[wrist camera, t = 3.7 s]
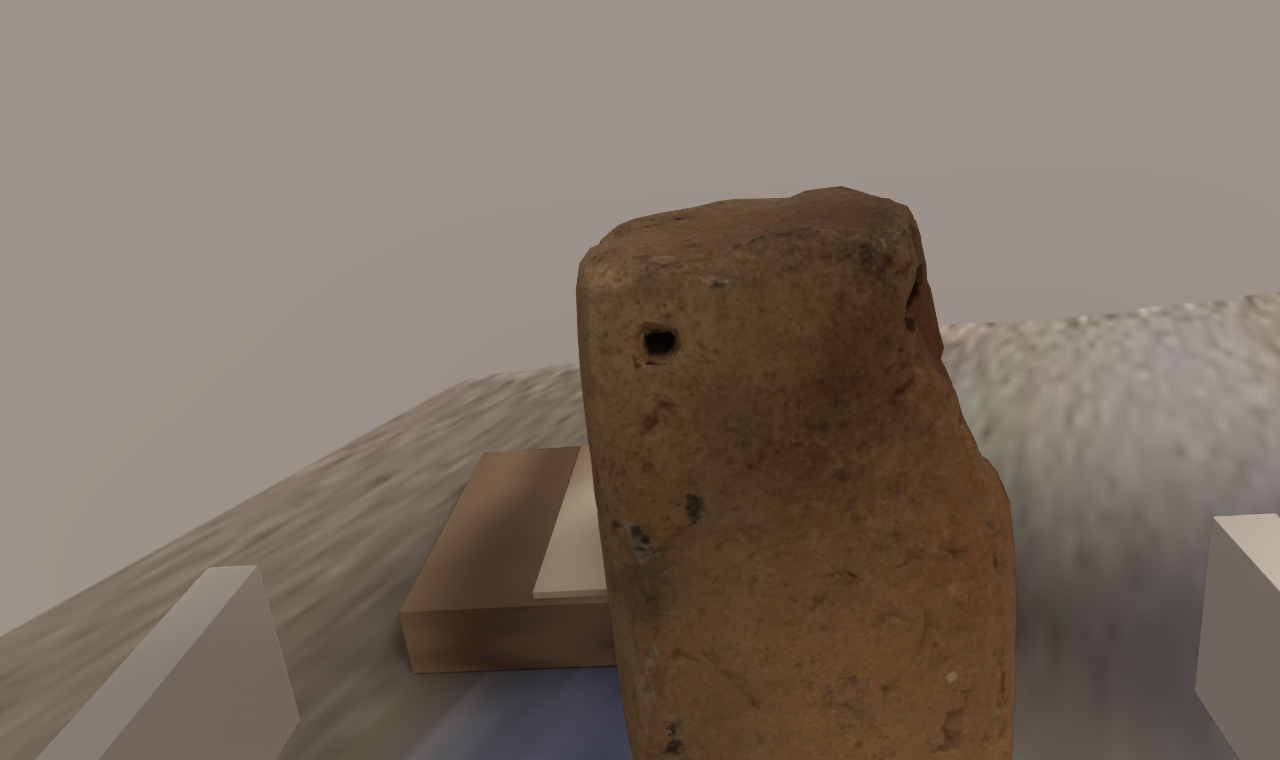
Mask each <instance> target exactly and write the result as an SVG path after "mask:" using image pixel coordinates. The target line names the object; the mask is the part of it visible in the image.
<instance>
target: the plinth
mask: <svg viewBox="0 0 1280 760" xmlns="http://www.w3.org/2000/svg"><path fill="white" fill-rule="evenodd" d="M399 615H400V620H401V624H402V628H403V633H404V637H405V641H406V645H407V650H408V654H409V658H410V663H411V667H412V671H413V674H414V673H439V672H464V671H489V670H514V669H539V668H565V667H590V666H615V665H617V660H616V653H615V646H614V639H613V624H612V617H611V613H610V609H609V603H608V595H607V587H606V579H605V571H604V563H603V555H602V547H601V540H600V533H599V526H598V514H597V507H596V501H595V495H594V487H593V476H592V465H591V457H590V450H589V445H582V446H578V447H563V448H548V449H533V450H518V451H503V452H488V453H484V454H483V455H482V457H481V459H480V461H479V463H478V465H477V467H476V469H475V470H474V472H473V474H472V476H471V478H470V480H469V482H468V484H467V485H466V487H465V489H464V491H463V493H462V495H461V497H460V499H459V500H458V502H457V504H456V506H455V508H454V510H453V512H452V514H451V515H450V517H449V519H448V521H447V523H446V525H445V527H444V529H443V530H442V532H441V534H440V536H439V538H438V540H437V542H436V543H435V545H434V547H433V549H432V551H431V553H430V555H429V557H428V558H427V560H426V562H425V564H424V566H423V568H422V570H421V572H420V573H419V575H418V577H417V579H416V581H415V583H414V585H413V587H412V588H411V590H410V592H409V594H408V596H407V598H406V600H405V602H404V603H403V605H402V607H401V609H400V611H399Z"/></svg>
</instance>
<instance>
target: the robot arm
mask: <svg viewBox="0 0 1280 760" xmlns="http://www.w3.org/2000/svg"><path fill="white" fill-rule="evenodd" d="M1195 692H1196V694H1197V695H1198V697H1199V698H1200V700H1201V701H1202V703H1203V704H1204V706H1205V707H1206V709H1207V711H1208V712H1209V714H1210V715H1211V717H1212V718H1213V720H1214V721H1215V723H1216V724H1217V726H1218V727H1219V729H1220V730H1221V732H1222V733H1223V735H1224V737H1225V738H1226V740H1227V741H1228V743H1229V744H1230V746H1231V747H1232V749H1233V750H1234V752H1235V753H1236V755H1237V756H1238V758H1239V760H1280V518H1279V517H1278V516H1277V515H1276V514H1275V513H1273V514H1253V515H1233V516H1214V517H1212V527H1211V536H1210V546H1209V556H1208V566H1207V576H1206V586H1205V595H1204V605H1203V615H1202V625H1201V635H1200V644H1199V654H1198V664H1197V674H1196V684H1195ZM299 721H300V716H299V712H298V709H297V705H296V701H295V698H294V694H293V691H292V687H291V683H290V680H289V676H288V672H287V669H286V665H285V661H284V658H283V654H282V650H281V647H280V643H279V640H278V636H277V632H276V629H275V625H274V621H273V618H272V614H271V610H270V607H269V603H268V600H267V596H266V592H265V589H264V585H263V581H262V578H261V574H260V570H259V567H258V565H247V566H228V567H208V568H207V570H206V571H205V572H204V573H203V574H202V575H201V576H200V577H199V578H198V580H197V581H196V582H195V583H194V584H193V585H192V586H191V587H190V588H189V590H188V591H187V592H186V593H185V594H184V595H183V596H182V597H181V598H180V600H179V601H178V602H177V603H176V604H175V605H174V606H173V607H172V608H171V610H170V611H169V612H168V613H167V614H166V615H165V616H164V617H163V618H162V620H161V621H160V622H159V623H158V624H157V625H156V626H155V627H154V628H153V630H152V631H151V632H150V633H149V634H148V635H147V636H146V637H145V638H144V640H143V641H142V642H141V643H140V644H139V645H138V646H137V647H136V648H135V649H134V651H133V652H132V653H131V654H130V655H129V656H128V657H127V658H126V659H125V661H124V662H123V663H122V664H121V665H120V666H119V667H118V668H117V669H116V671H115V672H114V673H113V674H112V675H111V676H110V677H109V678H108V679H107V681H106V682H105V683H104V684H103V685H102V686H101V687H100V688H99V689H98V691H97V692H96V693H95V694H94V695H93V696H92V697H91V698H90V699H89V701H88V702H87V703H86V704H85V705H84V706H83V707H82V708H81V709H80V711H79V712H78V713H77V714H76V715H75V716H74V717H73V718H72V719H71V721H70V722H69V723H68V724H67V725H66V726H65V727H64V728H63V729H62V731H61V732H60V733H59V734H58V735H57V736H56V737H55V738H54V739H53V741H52V742H51V743H50V744H49V745H48V746H47V747H46V748H45V749H44V750H43V752H42V753H41V754H40V755H39V756H38V757H37V758H36V759H35V760H277V758H278V757H279V755H280V753H281V751H282V750H283V748H284V746H285V745H286V743H287V741H288V740H289V738H290V736H291V734H292V733H293V731H294V729H295V728H296V726H297V724H298V723H299Z"/></svg>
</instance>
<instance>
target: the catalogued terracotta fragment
mask: <svg viewBox="0 0 1280 760" xmlns="http://www.w3.org/2000/svg"><path fill="white" fill-rule="evenodd" d="M576 302H577V329H578V346H579V359H580V373H581V383H582V392H583V402H584V410H585V418H586V427H587V435H588V442H589V450H590V457H591V465H592V476H593V487H594V495H595V501H596V507H597V514H598V526H599V533H600V540H601V547H602V555H603V563H604V571H605V579H606V587H607V595H608V603H609V609H610V613H611V617H612V624H613V639H614V646H615V653H616V660H617V667H618V674H619V681H620V688H621V694H622V701H623V707H624V713H625V720H626V726H627V732H628V737H629V741H630V746H631V750H632V755H633V759H634V760H1011V759H1012V750H1013V740H1014V709H1015V689H1016V617H1017V596H1016V572H1015V551H1014V537H1013V528H1012V520H1011V511H1010V502H1009V498H1008V496H1007V493H1006V491H1005V489H1004V486H1003V484H1002V482H1001V480H1000V478H999V475H998V472H997V471H996V469H995V468H994V467H993V466H992V464H991V463H990V462H989V461H988V460H987V459H986V458H984V457H983V456H982V455H981V453H980V452H979V450H978V447H977V444H976V441H975V439H974V437H973V435H972V433H971V431H970V429H969V427H968V425H967V423H966V421H965V419H964V417H963V415H962V411H961V408H960V404H959V401H958V397H957V394H956V391H955V389H954V388H953V386H952V382H951V380H950V377H949V375H948V373H947V370H946V368H945V366H944V364H943V362H942V360H941V356H942V353H943V349H944V346H943V342H942V339H941V335H940V332H939V327H938V322H937V317H936V312H935V308H934V302H933V297H932V293H931V288H930V286H929V284H928V281H927V270H926V261H925V257H924V252H923V248H922V243H921V236H920V232H919V229H918V225H917V222H916V220H914V217H913V215H912V213H911V211H910V210H909V208H908V206H905V205H902V204H900V203H897V202H895V201H893V200H890V199H887V198H880V197H877V196H873V195H869V194H866V193H863V192H860V191H857V190H853V189H849V188H846V187H841V186H840V187H830V188H822V189H815V190H808V191H804V192H802V193H799V194H797V195H795V196H792V197H790V198H770V199H769V198H768V199H732V200H724V201H717V202H713V203H709V204H705V205H702V206H697V207H693V208H687V209H681V210H675V211H669V212H663V213H659V214H654V215H649V216H645V217H641V218H636V219H633V220H630V221H627V222H625V223H623V224H620V225H618V226H617V227H616V228H615V229H613V230H612V231H611V232H610V233H608V234H607V235H606V236H605V237H604V238H603V239H602V240H601V241H600V243H599V245H596V246H594V247H592V248H590V249H589V251H588V252H587V253H586V255H585V256H584V258H583V259H582V261H581V262H580V263H579V271H578V278H577V286H576Z"/></svg>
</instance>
